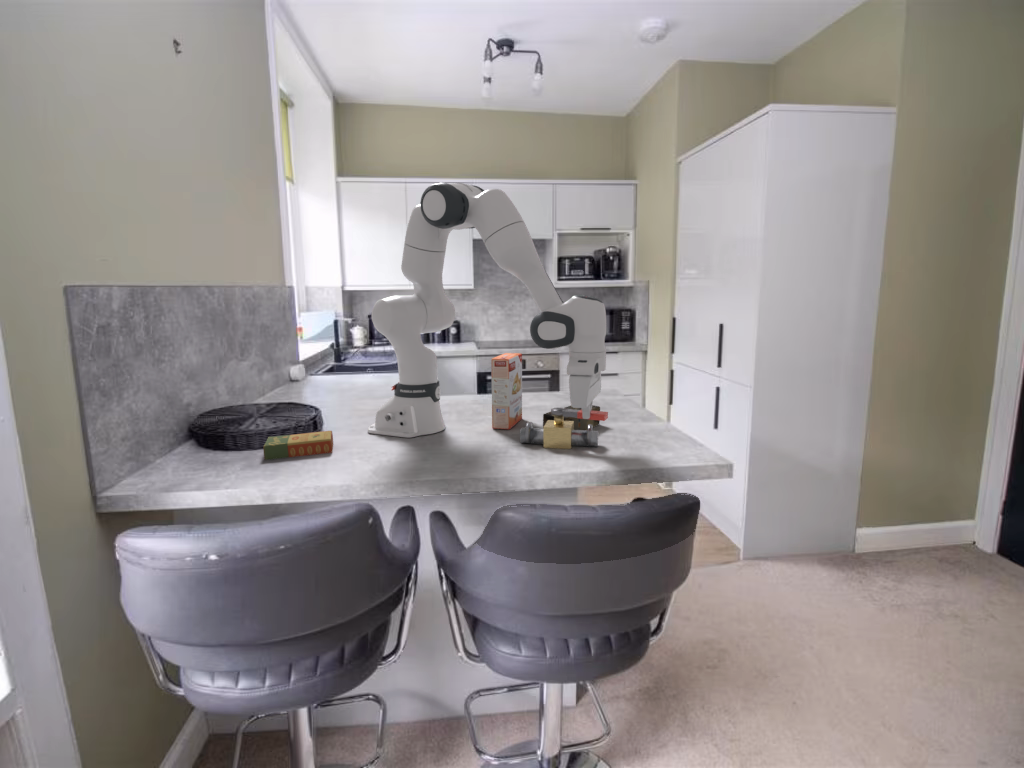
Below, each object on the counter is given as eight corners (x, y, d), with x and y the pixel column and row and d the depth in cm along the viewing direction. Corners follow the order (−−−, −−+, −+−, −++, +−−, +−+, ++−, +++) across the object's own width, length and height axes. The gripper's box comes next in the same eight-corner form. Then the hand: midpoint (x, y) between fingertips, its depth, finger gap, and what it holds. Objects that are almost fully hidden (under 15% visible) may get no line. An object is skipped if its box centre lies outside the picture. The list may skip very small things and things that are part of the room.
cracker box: (511, 430, 149) (509, 358, 145) (491, 429, 150) (489, 358, 146) (523, 418, 162) (522, 352, 158) (505, 417, 163) (504, 352, 160)
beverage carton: (601, 425, 153) (601, 403, 152) (564, 440, 139) (564, 417, 137) (578, 421, 158) (578, 400, 157) (541, 435, 144) (541, 412, 142)
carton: (332, 454, 132) (331, 438, 131) (264, 461, 127) (262, 445, 126) (333, 444, 139) (332, 429, 139) (269, 451, 135) (267, 435, 134)
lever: (548, 416, 132) (548, 410, 132) (554, 412, 136) (554, 406, 136) (603, 421, 126) (604, 415, 126) (608, 417, 130) (608, 411, 129)
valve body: (518, 446, 134) (518, 417, 132) (524, 438, 140) (523, 411, 139) (596, 450, 129) (597, 420, 128) (598, 442, 136) (598, 413, 134)
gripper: (583, 356, 136) (582, 408, 138) (564, 368, 117) (564, 427, 119) (607, 357, 133) (606, 409, 136) (592, 369, 115) (591, 429, 117)
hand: (586, 418), depth 127 cm, fingers closed
